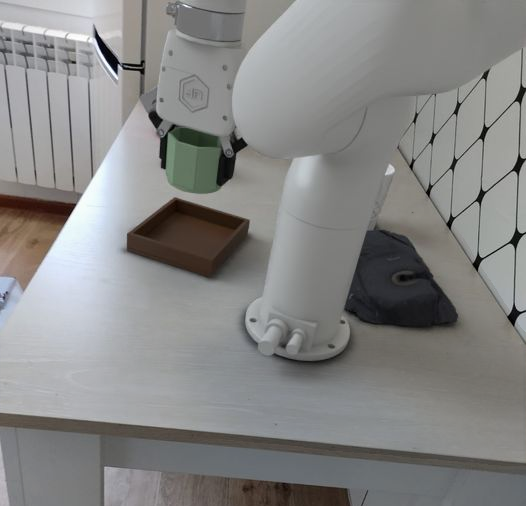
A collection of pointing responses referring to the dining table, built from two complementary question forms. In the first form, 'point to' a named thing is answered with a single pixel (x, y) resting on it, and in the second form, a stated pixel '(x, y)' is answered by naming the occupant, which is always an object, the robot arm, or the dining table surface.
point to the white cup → (381, 196)
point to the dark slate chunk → (396, 284)
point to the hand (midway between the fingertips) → (195, 173)
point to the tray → (188, 236)
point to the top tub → (193, 160)
